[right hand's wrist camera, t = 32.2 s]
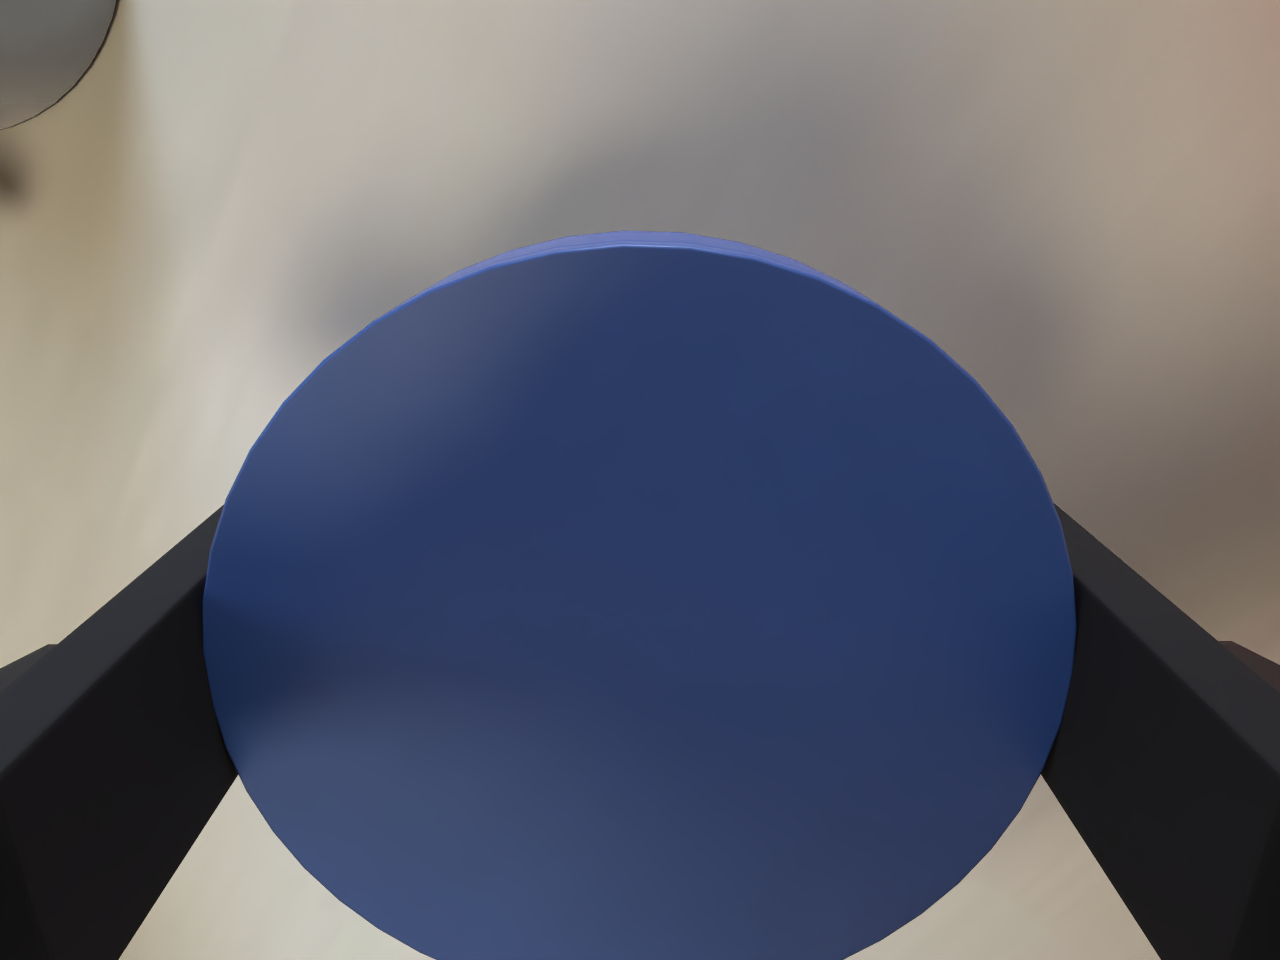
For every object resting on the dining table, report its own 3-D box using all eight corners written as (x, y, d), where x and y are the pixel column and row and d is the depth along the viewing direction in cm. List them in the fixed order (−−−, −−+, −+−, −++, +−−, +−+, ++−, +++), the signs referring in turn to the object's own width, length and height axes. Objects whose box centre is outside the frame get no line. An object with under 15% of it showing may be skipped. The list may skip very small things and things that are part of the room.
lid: (1025, 863, 13) (1075, 955, 12) (375, 947, 14) (342, 1045, 12) (1012, 158, 10) (1081, 160, 8) (145, 309, 10) (60, 336, 9)
